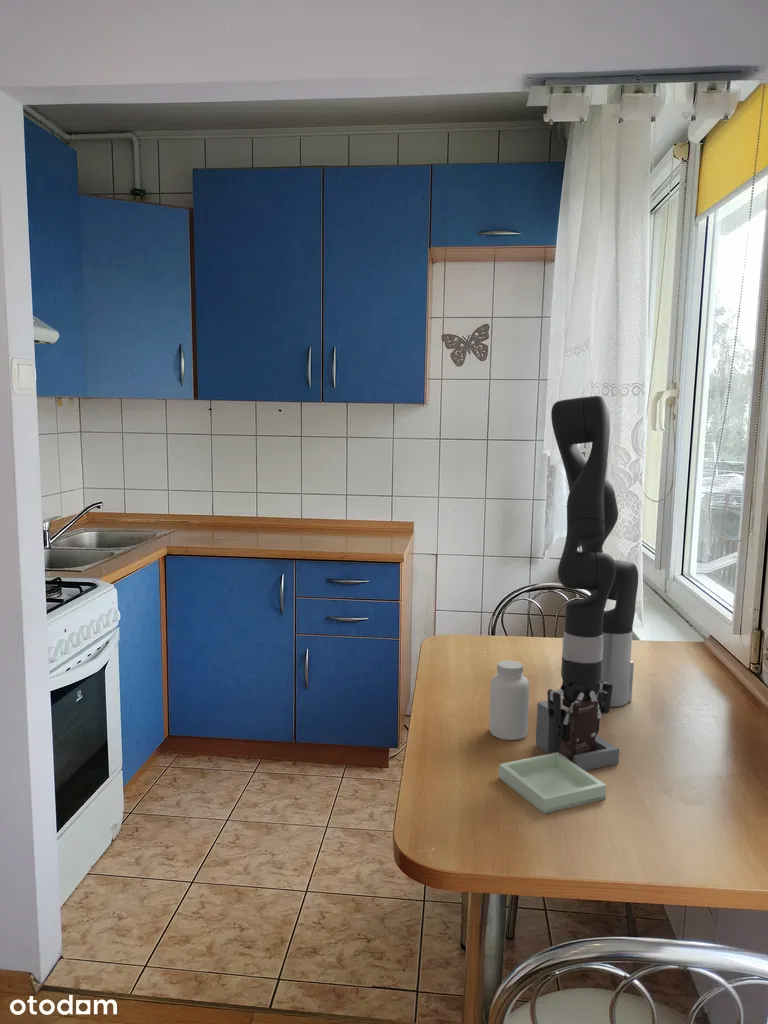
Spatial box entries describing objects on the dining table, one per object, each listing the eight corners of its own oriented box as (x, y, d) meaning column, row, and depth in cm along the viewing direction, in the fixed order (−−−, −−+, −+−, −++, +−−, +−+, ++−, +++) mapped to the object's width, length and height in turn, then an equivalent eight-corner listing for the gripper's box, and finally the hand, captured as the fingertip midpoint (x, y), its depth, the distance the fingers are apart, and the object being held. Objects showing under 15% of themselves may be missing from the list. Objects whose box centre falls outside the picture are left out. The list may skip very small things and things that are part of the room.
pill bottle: (481, 728, 167) (484, 660, 165) (514, 723, 170) (516, 656, 168) (501, 743, 160) (504, 672, 157) (535, 737, 163) (538, 667, 161)
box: (574, 766, 150) (577, 705, 148) (557, 757, 154) (560, 698, 152) (596, 758, 153) (599, 699, 152) (579, 750, 157) (582, 692, 155)
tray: (556, 765, 150) (557, 752, 150) (605, 799, 138) (606, 785, 137) (498, 777, 145) (499, 764, 145) (543, 813, 133) (544, 799, 132)
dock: (575, 737, 163) (578, 692, 162) (618, 763, 152) (621, 715, 150) (535, 744, 159) (537, 699, 158) (576, 772, 147) (578, 723, 146)
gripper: (599, 645, 157) (594, 725, 159) (539, 653, 151) (535, 736, 153) (625, 656, 150) (620, 739, 153) (563, 665, 144) (559, 752, 147)
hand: (577, 737), depth 153 cm, fingers closed on box, 6 cm apart
